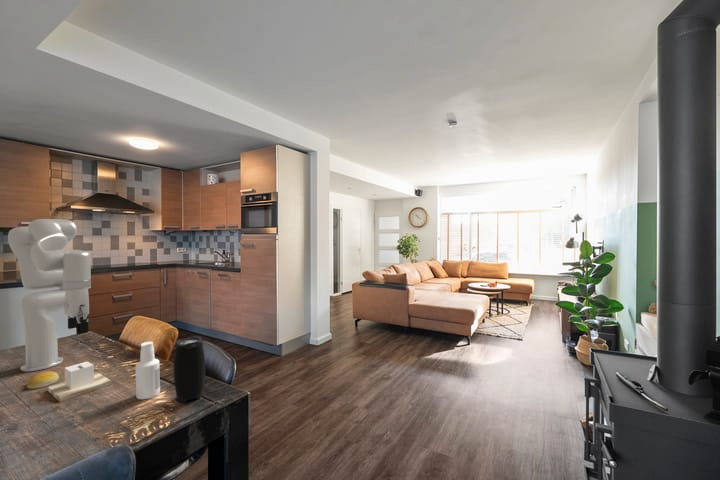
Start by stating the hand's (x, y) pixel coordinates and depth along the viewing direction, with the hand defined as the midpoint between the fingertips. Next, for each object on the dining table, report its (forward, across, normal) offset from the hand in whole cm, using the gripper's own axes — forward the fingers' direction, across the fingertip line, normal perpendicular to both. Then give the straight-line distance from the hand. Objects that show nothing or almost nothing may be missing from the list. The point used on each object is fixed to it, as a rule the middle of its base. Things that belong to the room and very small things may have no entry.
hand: (78, 330), depth 115 cm
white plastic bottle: (+19, +32, +10) cm, 38 cm away
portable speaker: (+18, +45, +18) cm, 52 cm away
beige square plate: (+20, +5, -1) cm, 20 cm away
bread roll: (+21, -12, -7) cm, 25 cm away
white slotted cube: (+18, +4, -1) cm, 19 cm away
